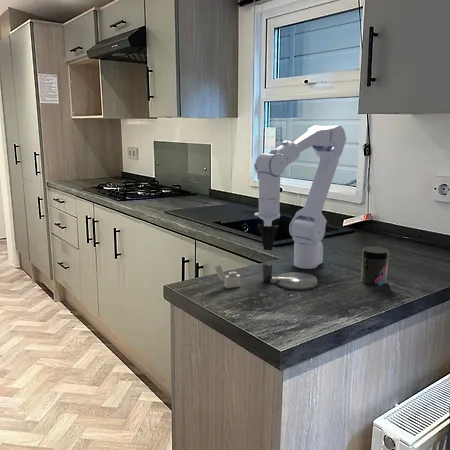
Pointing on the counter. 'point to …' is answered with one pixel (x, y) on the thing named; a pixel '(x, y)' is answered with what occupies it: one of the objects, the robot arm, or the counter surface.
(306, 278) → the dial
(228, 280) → the lighter
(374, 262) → the supplement container
